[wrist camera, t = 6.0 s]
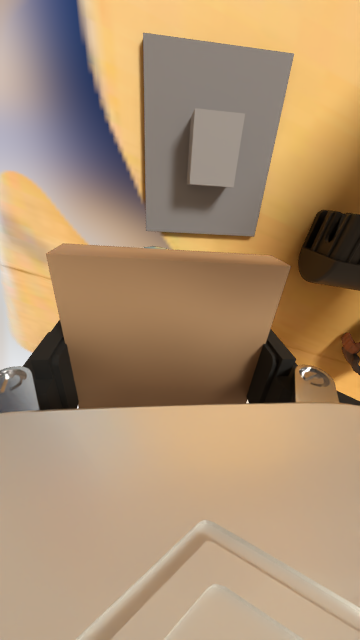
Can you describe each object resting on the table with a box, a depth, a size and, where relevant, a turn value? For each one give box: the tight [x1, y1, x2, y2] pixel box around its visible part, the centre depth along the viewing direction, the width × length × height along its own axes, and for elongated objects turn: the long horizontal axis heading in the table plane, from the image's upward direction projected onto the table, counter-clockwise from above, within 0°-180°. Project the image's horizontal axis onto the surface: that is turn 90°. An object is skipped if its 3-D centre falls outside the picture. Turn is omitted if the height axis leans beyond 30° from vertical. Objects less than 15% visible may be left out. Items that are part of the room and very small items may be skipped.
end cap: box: [298, 210, 360, 291], centre depth 24 cm, size 10×7×7 cm
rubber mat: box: [143, 33, 294, 236], centre depth 20 cm, size 14×12×3 cm
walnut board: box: [46, 244, 291, 408], centre depth 10 cm, size 9×7×1 cm
